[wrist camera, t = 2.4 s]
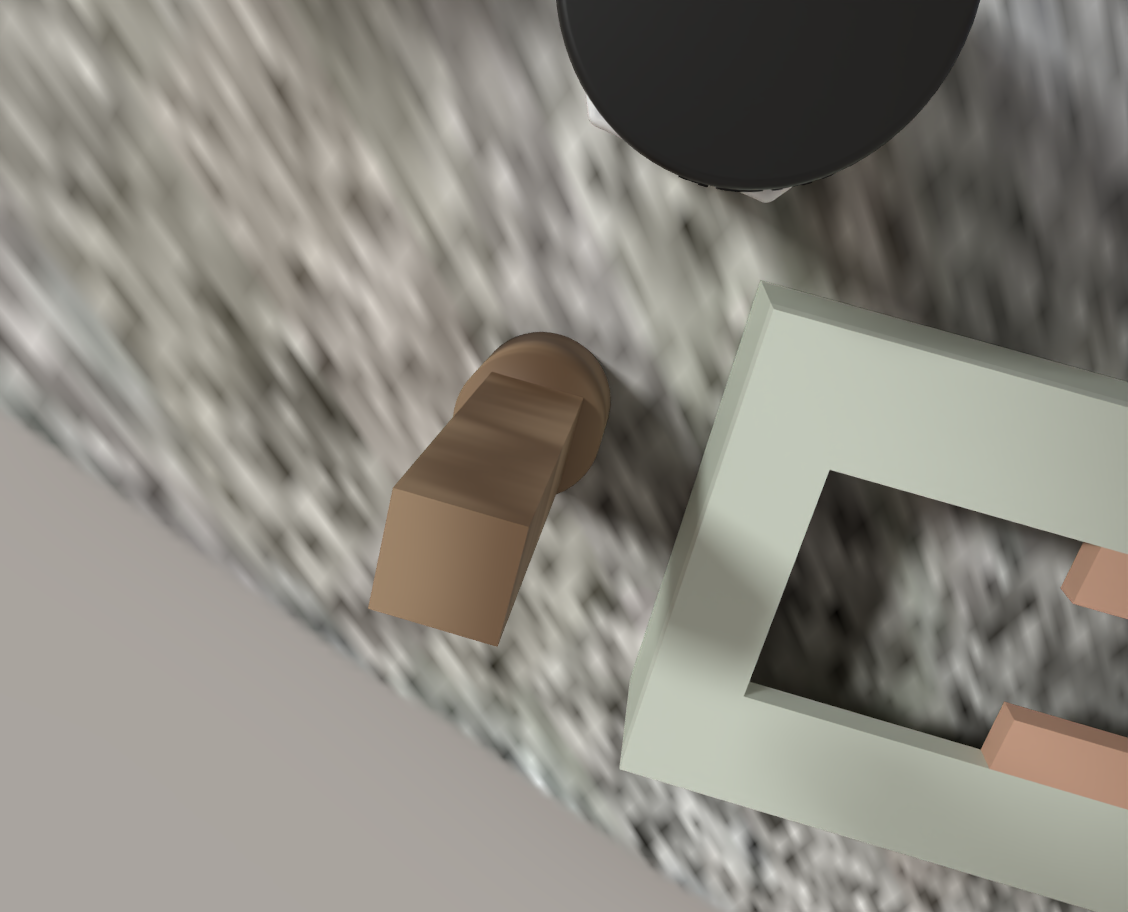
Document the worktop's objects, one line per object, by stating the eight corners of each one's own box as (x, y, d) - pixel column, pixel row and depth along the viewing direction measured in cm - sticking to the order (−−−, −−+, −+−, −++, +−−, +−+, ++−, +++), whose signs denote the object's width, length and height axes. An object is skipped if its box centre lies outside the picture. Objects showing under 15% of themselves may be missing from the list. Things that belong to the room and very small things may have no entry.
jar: (693, 231, 31) (692, 286, 20) (544, 16, 30) (452, -57, 18) (940, 51, 29) (1101, -3, 17) (791, -194, 27) (860, -429, 16)
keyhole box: (630, 680, 37) (619, 768, 32) (760, 280, 31) (773, 308, 26) (1189, 844, 36) (1271, 964, 31) (1423, 463, 30) (1572, 530, 25)
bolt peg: (464, 441, 35) (323, 631, 21) (493, 316, 33) (360, 437, 20) (591, 478, 34) (526, 691, 21) (626, 353, 33) (580, 500, 20)
